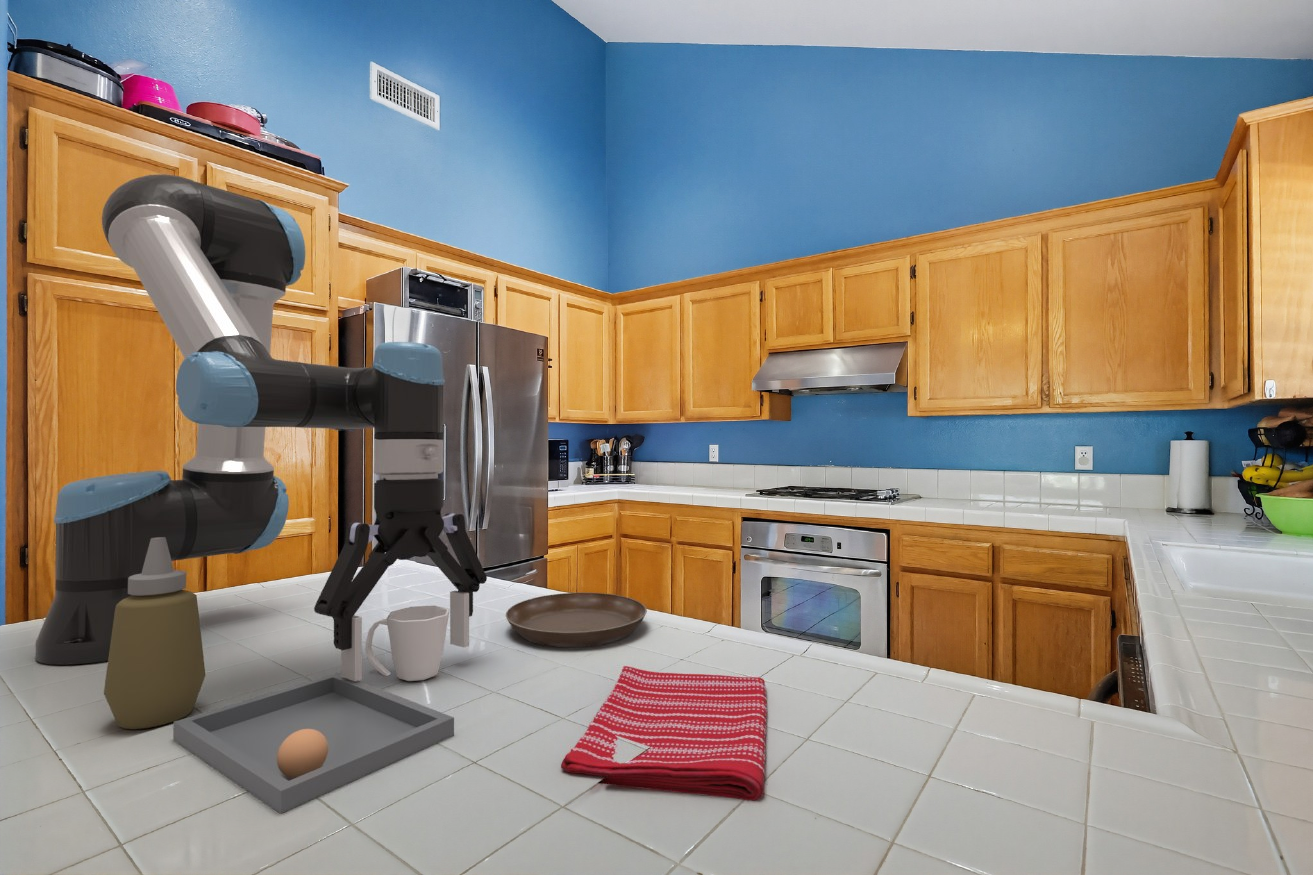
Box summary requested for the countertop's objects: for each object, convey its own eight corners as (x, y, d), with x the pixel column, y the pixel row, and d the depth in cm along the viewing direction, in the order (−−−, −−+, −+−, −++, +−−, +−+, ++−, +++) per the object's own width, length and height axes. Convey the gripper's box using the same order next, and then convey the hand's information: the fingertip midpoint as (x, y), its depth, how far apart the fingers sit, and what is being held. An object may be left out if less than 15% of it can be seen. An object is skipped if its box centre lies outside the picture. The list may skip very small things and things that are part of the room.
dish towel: (551, 791, 51) (551, 757, 51) (619, 682, 74) (619, 660, 74) (766, 812, 48) (766, 777, 48) (767, 692, 71) (767, 669, 71)
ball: (268, 778, 50) (268, 733, 50) (313, 760, 53) (314, 717, 53) (290, 793, 48) (290, 745, 48) (336, 772, 51) (337, 728, 51)
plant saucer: (644, 654, 84) (644, 629, 84) (488, 653, 84) (488, 628, 84) (648, 612, 104) (648, 592, 104) (523, 612, 105) (523, 592, 105)
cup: (430, 697, 69) (430, 622, 69) (347, 691, 70) (348, 618, 70) (461, 674, 76) (461, 606, 76) (385, 669, 77) (385, 602, 77)
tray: (173, 748, 57) (173, 721, 57) (337, 694, 69) (337, 672, 69) (280, 824, 46) (280, 791, 46) (454, 743, 58) (454, 717, 58)
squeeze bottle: (224, 707, 66) (226, 534, 66) (139, 742, 58) (141, 546, 58) (170, 697, 69) (172, 531, 69) (82, 729, 61) (84, 541, 61)
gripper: (316, 481, 61) (315, 702, 60) (513, 473, 82) (514, 638, 81) (278, 480, 65) (277, 687, 65) (475, 473, 86) (476, 630, 85)
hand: (409, 661), depth 73 cm, fingers open, 13 cm apart
